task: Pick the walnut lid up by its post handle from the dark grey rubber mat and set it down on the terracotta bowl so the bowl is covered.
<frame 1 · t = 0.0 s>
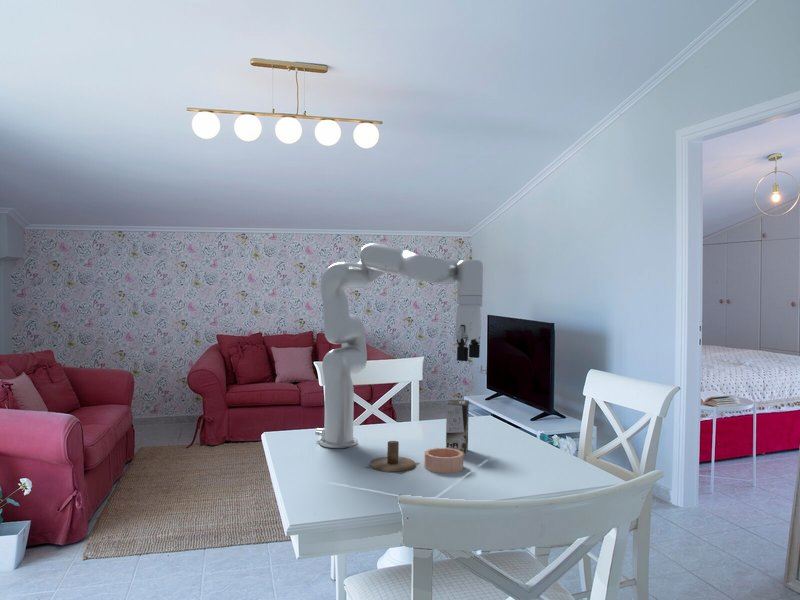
hand: (468, 359, 186), 31 cm above the table, fingers open, 9 cm apart
lid: (392, 465, 182), resting on mat
coffee box: (457, 453, 199), on the table
mat: (392, 466, 182), on the table
bowl: (443, 468, 182), on the table
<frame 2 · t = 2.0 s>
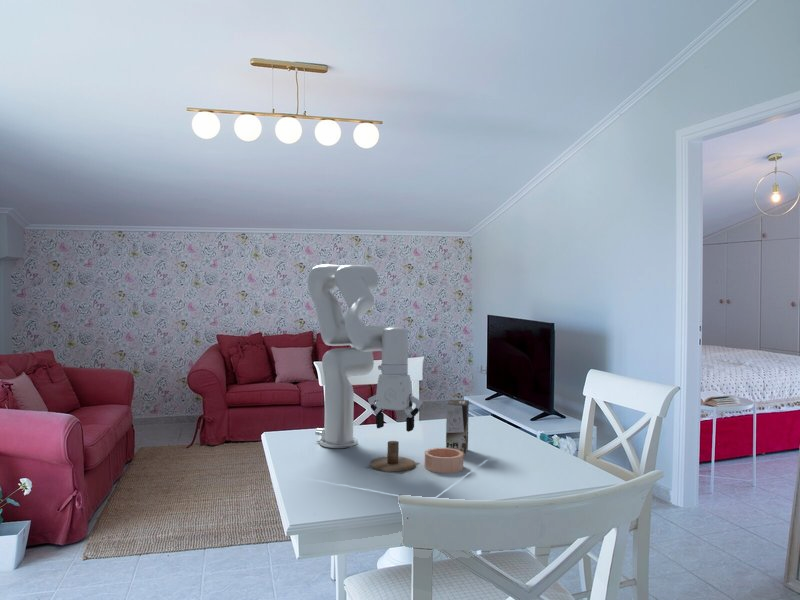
hand: (394, 429, 182), 11 cm above the table, fingers open, 9 cm apart
nothing on the table moved.
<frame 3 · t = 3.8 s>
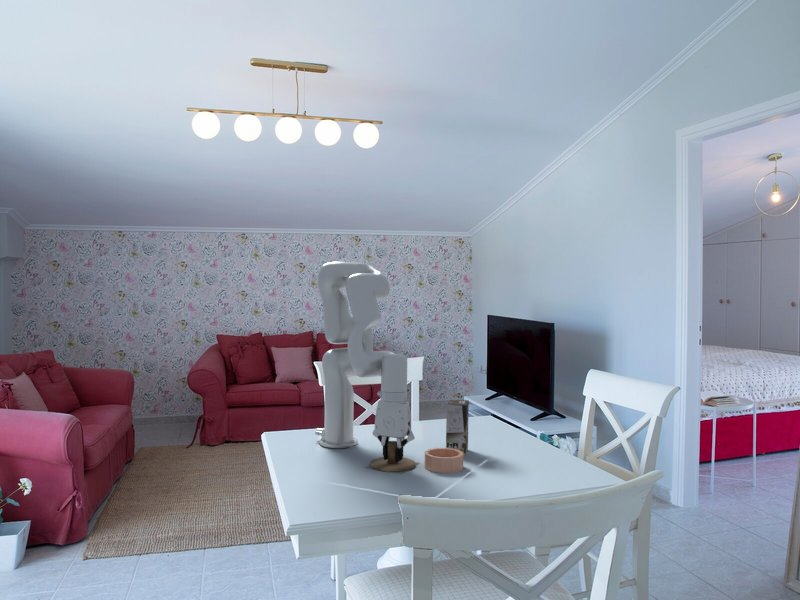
hand: (392, 459, 182), 2 cm above the table, fingers closed on lid, 3 cm apart
lid: (392, 465, 182), resting on mat, touching gripper
everything else where it was.
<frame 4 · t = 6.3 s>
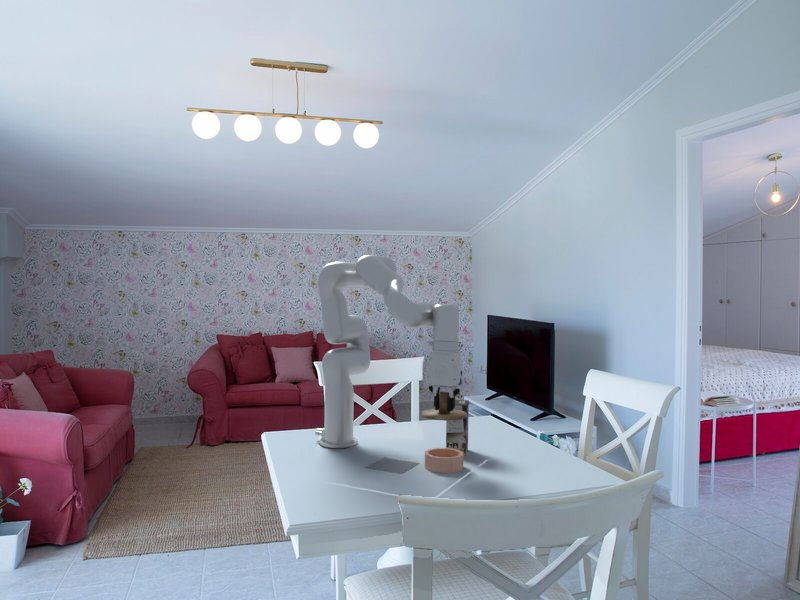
hand: (444, 409, 181), 17 cm above the table, fingers closed on lid, 3 cm apart
lid: (444, 415, 181), point 15 cm above the table, touching gripper
everything else where it was.
when the fingers open (8 cm above the table, at t = 8.6 s): lid drops 2 cm, resting on bowl.
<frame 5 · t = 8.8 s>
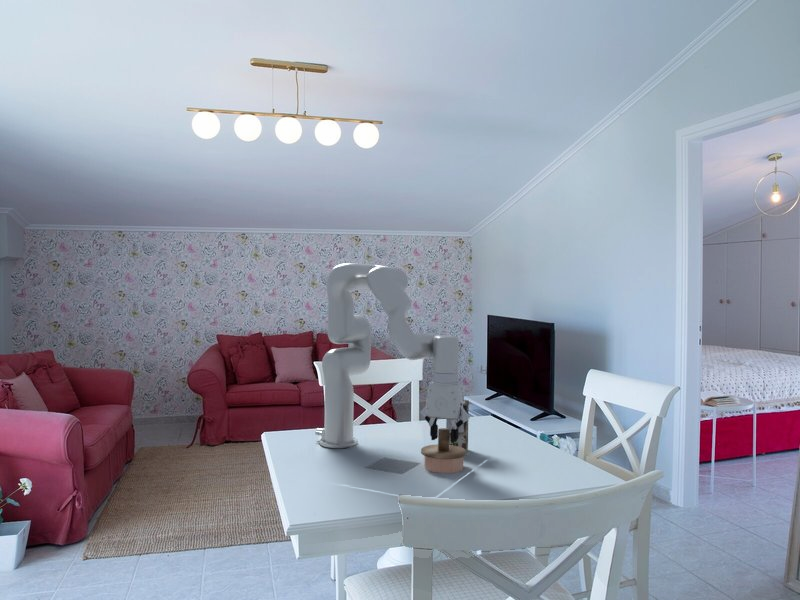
hand: (444, 439, 181), 8 cm above the table, fingers open, 5 cm apart
lid: (443, 452, 182), point 4 cm above the table, touching bowl
everything else where it was.
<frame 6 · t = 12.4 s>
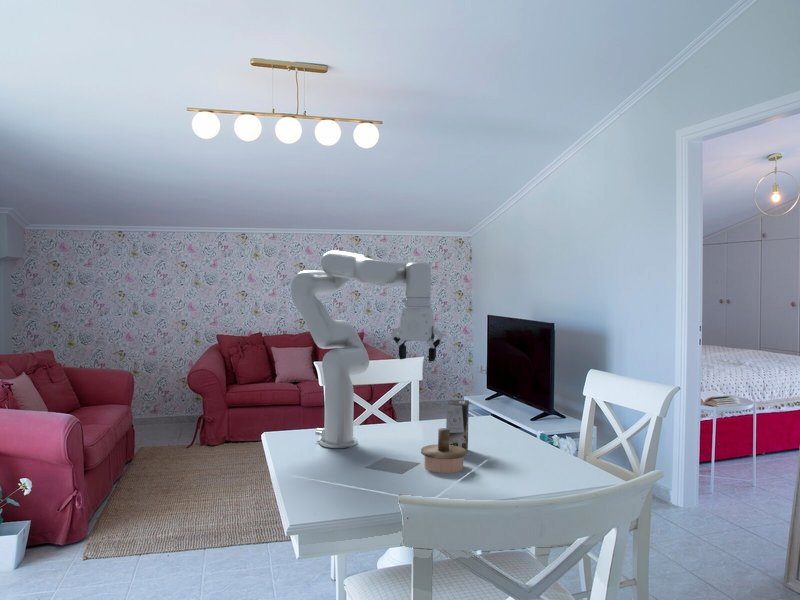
hand: (417, 360, 189), 30 cm above the table, fingers open, 9 cm apart
nothing on the table moved.
at the end: lid 0.1 cm off-centre on the bowl, point 4.5 cm above the bowl's base; lid tilted 0°; the gripper is holding nothing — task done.
